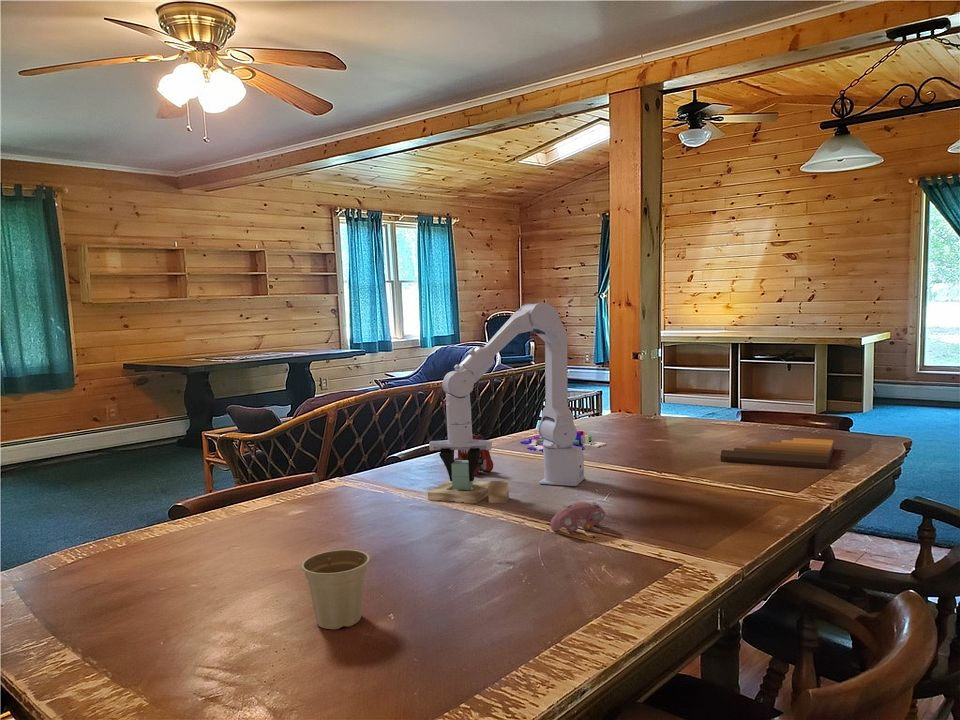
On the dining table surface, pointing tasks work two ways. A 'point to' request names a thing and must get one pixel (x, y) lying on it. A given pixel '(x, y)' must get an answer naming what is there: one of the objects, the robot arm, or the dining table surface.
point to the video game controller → (577, 516)
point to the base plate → (460, 492)
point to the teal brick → (461, 475)
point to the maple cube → (498, 492)
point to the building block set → (580, 439)
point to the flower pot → (337, 586)
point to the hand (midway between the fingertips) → (462, 480)
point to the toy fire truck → (484, 458)
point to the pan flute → (784, 453)
